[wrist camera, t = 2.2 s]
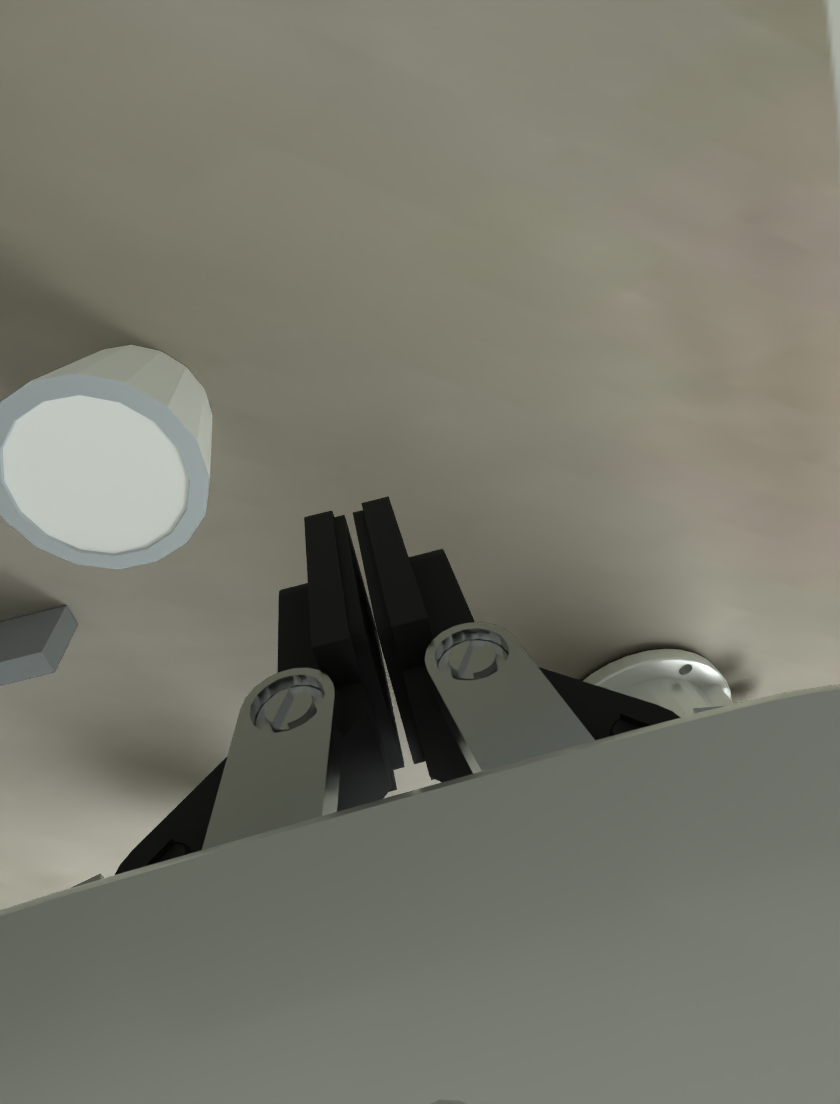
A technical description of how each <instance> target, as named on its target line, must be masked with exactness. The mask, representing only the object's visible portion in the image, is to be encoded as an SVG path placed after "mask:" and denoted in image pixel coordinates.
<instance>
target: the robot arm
mask: <svg viewBox="0 0 840 1104" xmlns="http://www.w3.org/2000/svg"><path fill="white" fill-rule="evenodd" d="M362 506H363V510H362V511H358V512H354V513H353V516H354V521H355V526H356V531H357V536H358V541H359V545H360V550H361V555H362V560H363V565H364V570H365V575H366V580H367V585H368V590H369V594H370V599H371V604H372V609H373V614H374V619H375V622H374V619H373V615H372V611H371V608H370V604H369V601H368V597H367V593H366V590H365V586H364V583H363V579H362V576H361V572H360V568H359V565H358V561H357V558H356V554H355V550H354V547H353V543H352V540H351V536H350V533H349V529H348V525H347V522H346V518H345V516H344V515H342V516H338V517H334V515H333V512H332V511H328V512H324V513H320V514H316V515H312V516H308V517H305V518H304V520H305V538H306V555H307V573H308V583H306V584H302V585H298V586H294V587H290V588H286V589H282V590H280V591H279V622H278V673H277V674H275V675H273V676H271V677H269V678H266V679H265V680H264V681H262V682H261V683H260V684H259V685H257V686H256V687H255V688H254V689H253V690H252V691H251V692H250V694H249V695H248V696H247V697H246V698H245V701H244V703H243V705H242V707H241V709H240V713H239V716H238V720H237V724H236V727H235V731H234V734H233V738H232V742H231V745H230V749H229V753H228V756H227V757H226V758H225V759H224V760H223V761H222V762H221V763H220V764H219V765H218V766H217V767H216V768H215V769H214V770H213V771H212V772H211V773H210V774H209V775H208V776H207V777H206V778H205V779H204V780H203V781H202V782H201V783H200V784H199V785H198V786H197V787H196V788H195V789H194V790H193V791H192V792H191V793H190V794H189V795H188V796H187V797H186V798H185V799H184V800H183V801H182V802H181V803H180V804H179V805H178V806H177V807H176V808H175V809H174V810H173V811H172V812H171V813H170V814H169V815H168V816H167V817H166V818H165V819H164V820H163V821H162V822H161V823H160V824H159V825H158V826H157V827H156V828H155V829H154V830H153V831H152V832H150V833H149V834H148V835H147V836H146V837H145V838H144V839H143V840H142V841H141V842H140V843H139V844H138V845H137V846H136V847H135V848H134V849H133V850H132V852H131V853H130V854H129V855H128V856H127V858H126V859H125V860H124V861H123V862H122V863H121V865H120V866H119V868H118V870H117V872H116V873H115V875H114V876H110V877H107V878H104V877H103V876H102V875H101V874H98V875H96V876H94V877H92V878H90V879H88V880H86V881H84V882H82V883H80V884H78V885H76V886H74V887H72V888H70V889H66V890H63V891H59V892H56V893H53V894H50V895H47V896H43V897H40V898H37V899H34V900H31V901H28V902H25V903H22V904H19V905H15V906H12V907H9V908H6V909H3V910H0V1104H840V685H829V686H823V687H816V688H810V689H803V690H796V691H790V692H784V693H780V694H776V695H771V696H767V697H763V698H759V699H754V700H750V701H746V702H741V703H738V702H735V703H733V702H732V700H731V691H730V688H729V686H728V683H727V681H726V679H725V678H724V677H723V676H722V674H721V673H720V672H719V671H718V670H717V668H716V667H715V666H714V665H713V664H711V663H710V662H709V661H708V660H707V659H705V658H703V657H701V656H699V655H698V654H696V653H692V652H688V651H684V650H677V649H658V650H650V651H644V652H640V653H636V654H633V655H629V656H626V657H623V658H621V659H619V660H616V661H614V662H611V663H609V664H607V665H606V666H604V667H602V668H601V669H599V670H597V671H595V672H594V673H592V674H591V675H589V676H588V677H587V678H586V679H584V680H583V681H580V680H577V679H574V678H571V677H568V676H564V675H561V674H558V673H555V672H552V671H549V670H545V669H542V668H539V667H538V666H537V665H536V664H535V663H534V661H533V660H532V659H531V658H530V656H529V655H528V654H527V652H526V651H525V650H524V649H523V647H522V646H521V645H520V643H519V642H518V641H517V640H516V638H515V637H514V636H513V635H512V634H511V633H509V632H508V631H507V630H506V629H504V628H502V627H499V626H497V625H495V624H490V623H484V622H474V619H473V617H472V615H471V612H470V610H469V608H468V605H467V603H466V601H465V598H464V596H463V594H462V591H461V589H460V587H459V584H458V582H457V580H456V578H455V575H454V573H453V571H452V568H451V566H450V564H449V561H448V559H447V557H446V554H445V552H444V550H443V549H440V550H436V551H432V552H428V553H424V554H420V555H416V556H412V557H408V555H407V552H406V549H405V545H404V542H403V539H402V536H401V533H400V530H399V527H398V524H397V521H396V518H395V515H394V512H393V509H392V506H391V503H390V500H389V497H385V498H381V499H377V500H372V501H368V502H364V503H362ZM375 624H376V626H375ZM376 628H377V630H376ZM377 632H378V634H377ZM378 636H379V639H378ZM379 640H380V644H381V648H382V651H383V655H384V658H385V662H386V665H387V669H388V673H389V676H390V680H391V683H392V687H393V691H394V694H395V698H396V701H397V705H398V708H399V712H400V716H401V719H402V723H403V726H404V730H405V733H406V737H407V741H408V744H409V748H410V751H411V755H412V759H413V762H414V764H417V763H420V762H424V761H426V764H427V768H428V772H429V775H430V777H431V780H433V779H436V780H438V781H441V782H442V783H439V784H435V785H431V786H428V787H424V788H421V789H417V790H413V791H410V792H406V793H403V794H399V795H395V796H392V797H388V798H385V799H383V798H384V797H385V795H386V794H387V793H388V792H390V791H394V790H397V788H396V782H395V777H394V771H393V770H395V769H399V768H402V767H404V761H403V756H402V751H401V747H400V742H399V737H398V732H397V727H396V722H395V717H394V712H393V707H392V702H391V698H390V693H389V688H388V683H387V678H386V673H385V668H384V663H383V658H382V653H381V649H380V644H379Z"/></svg>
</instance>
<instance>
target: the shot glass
mask: <svg viewBox="0 0 840 1104" xmlns="http://www.w3.org/2000/svg"><path fill="white" fill-rule="evenodd" d="M212 417H213V414H212V411H211V408H210V405H209V402H208V398H207V395H206V392H205V389H204V388H203V387H202V385H201V384H200V383H199V382H198V380H197V379H196V378H195V377H194V376H193V374H192V373H191V372H190V371H189V369H188V368H187V367H186V366H184V365H183V364H181V363H179V362H178V361H176V360H175V359H173V358H171V357H170V356H168V355H166V354H165V353H163V352H162V351H159V350H154V349H149V348H144V347H140V346H135V345H126V346H120V347H115V348H109V349H103V350H101V351H98V352H96V353H94V354H91V355H89V356H87V357H85V358H82V359H80V360H78V361H75V362H73V363H71V364H68V365H66V366H64V367H62V368H59V369H57V370H55V371H52V372H50V373H48V374H46V375H43V376H41V377H39V378H36V379H34V380H32V381H30V382H28V383H27V384H25V385H24V386H23V387H21V388H20V389H18V390H17V391H16V392H14V393H13V394H11V395H10V396H8V397H7V398H6V399H4V400H3V401H1V402H0V515H1V517H2V518H3V519H4V520H5V521H6V522H7V523H8V524H10V525H11V526H12V527H13V528H14V529H15V530H17V531H18V532H19V533H20V534H21V535H22V536H24V537H25V538H26V539H27V540H28V541H29V542H31V543H32V544H33V545H34V546H35V547H37V548H39V549H41V550H44V551H46V552H48V553H51V554H53V555H55V556H58V557H60V558H62V559H65V560H67V561H69V562H72V563H74V564H76V565H84V566H92V567H101V568H110V569H118V570H119V569H124V568H129V567H134V566H139V565H143V564H148V563H153V562H157V561H159V560H161V559H162V558H164V557H165V556H167V555H168V554H170V553H172V552H173V551H175V550H176V549H178V548H179V547H181V546H183V545H184V544H186V543H187V542H188V541H189V539H190V538H191V536H192V535H193V533H194V531H195V530H196V528H197V527H198V525H199V524H200V522H201V521H202V519H203V517H204V516H205V514H206V509H207V500H208V491H209V481H210V463H211V440H212Z"/></svg>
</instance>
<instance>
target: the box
mask: <svg viewBox="0 0 840 1104" xmlns="http://www.w3.org/2000/svg"><path fill="white" fill-rule="evenodd" d="M77 626H78V624H77V622H76V620H75V619H74V617H73V615H72V614H71V612H70V610H69V609H68V607H67V606H62V607H58V608H54V609H50V610H46V611H42V612H38V613H34V614H30V615H26V616H22V617H18V618H13V619H9V620H5V621H1V622H0V686H2V685H6V684H10V683H14V682H18V681H22V680H26V679H30V678H34V677H38V676H41V675H45V674H49V673H53V672H55V671H56V669H57V667H58V665H59V663H60V661H61V659H62V657H63V655H64V653H65V651H66V649H67V646H68V644H69V642H70V640H71V638H72V636H73V634H74V632H75V630H76V628H77Z"/></svg>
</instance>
